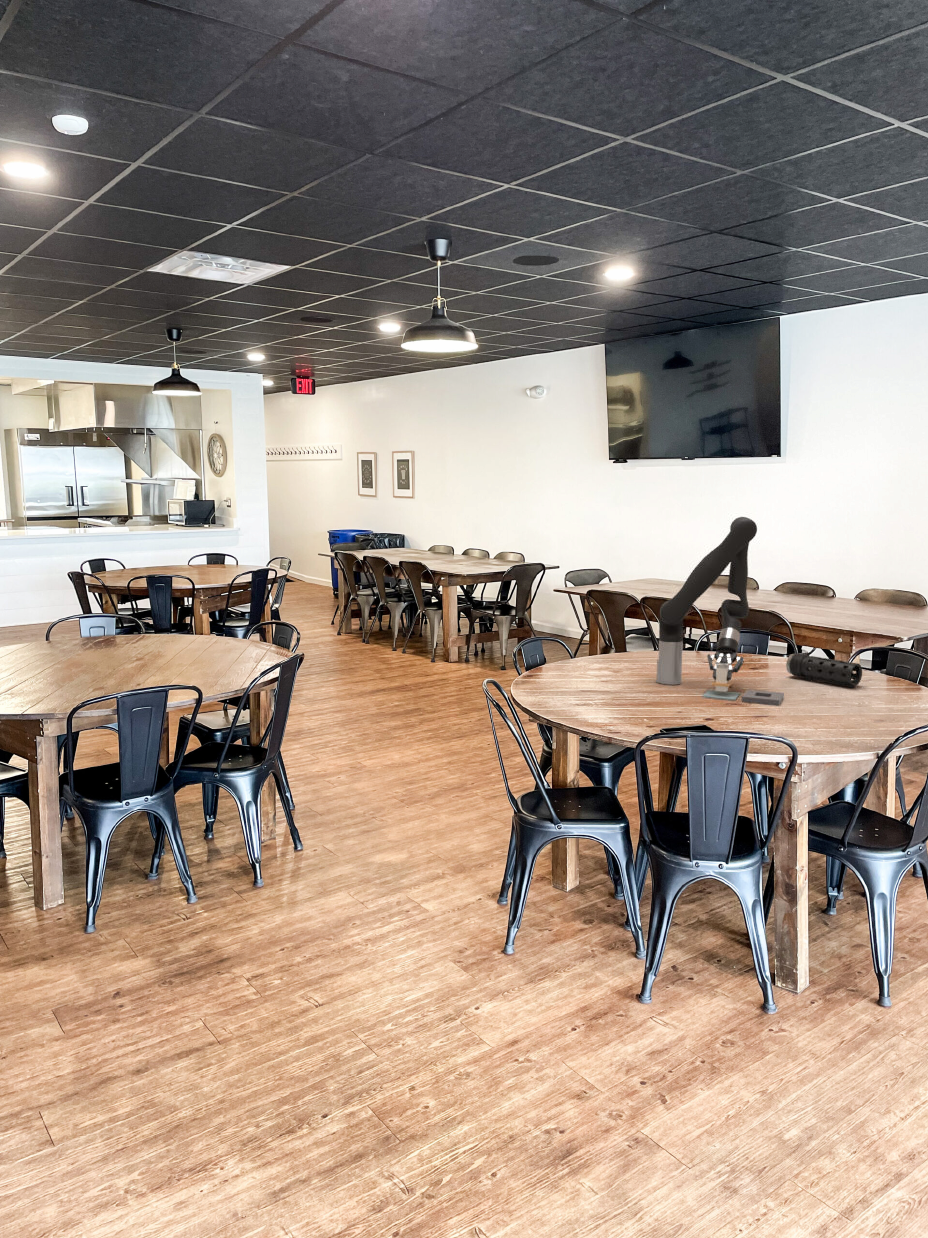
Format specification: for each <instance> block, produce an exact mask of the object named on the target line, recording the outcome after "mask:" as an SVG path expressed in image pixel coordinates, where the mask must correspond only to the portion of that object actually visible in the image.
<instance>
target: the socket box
mask: <svg viewBox="0 0 928 1238" xmlns="http://www.w3.org/2000/svg"><path fill="white" fill-rule="evenodd" d="M784 697H785V694H784V692H777V691H768V690H756V689H747V690H746V691H745V692H744V693H743V695H742V696H741V702H742V703H750V704H757V705H758V704H759V705H768V706H775V707H776V706H778V707H779V706H780V705H781V703H782V702H783V700H784V699H785V698H784Z"/></svg>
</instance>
